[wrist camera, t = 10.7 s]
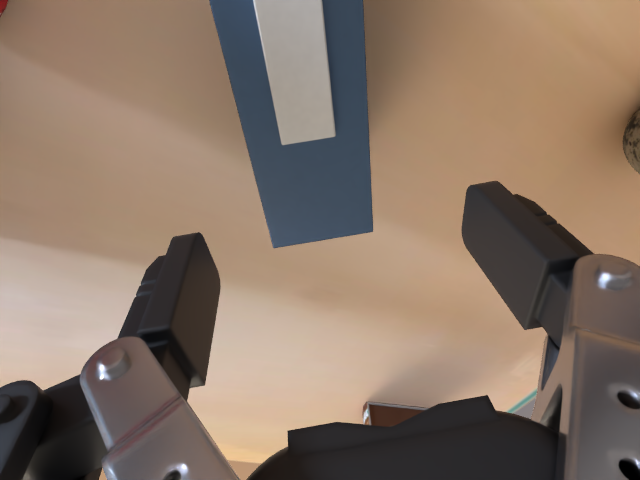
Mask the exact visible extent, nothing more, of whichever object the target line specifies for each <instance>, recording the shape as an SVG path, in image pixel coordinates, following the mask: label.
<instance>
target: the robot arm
mask: <svg viewBox="0 0 640 480" xmlns="http://www.w3.org/2000/svg"><path fill="white" fill-rule="evenodd" d="M462 237H463V241H464V244H465V246H466V248H467V249H468V251H469V252H470V254H471V255H472V256H473V258H474V259H475V261H476V262H477V263H478V265H479V266H480V268H481V269H482V271H483V272H484V273H485V275H486V276H487V278H488V279H489V280H490V282H491V283H492V285H493V286H494V287H495V289H496V290H497V292H498V293H499V295H500V296H501V297H502V299H503V300H504V302H505V303H506V304H507V306H508V307H509V309H510V310H511V311H512V313H513V314H514V316H515V317H516V319H517V320H518V321H519V323H520V324H521V326H522V327H523V328H524V330H527V329H533V328H538V327H543V328H544V329H545V331H546V332H547V335H546V338H545V341H544V347H543V354H542V361H541V368H540V375H539V382H538V388H537V395H536V401H535V406H534V409H533V413H532V416H531V419H529V418H525V417H522V416H519V415H516V414H512V413H507V412H502V411H495V409H494V407H493V405H492V403H491V401H490V399H489V397H488V395H486V396H480V397H475V398H469V399H464V400H458V401H452V402H447V403H441V404H437V405H435V406H433V407H431V408H429V409H427V410H425V411H423V412H421V413H419V414H417V415H415V416H413V417H411V418H409V419H407V420H405V421H403V422H401V423H399V424H397V425H394V426H390V427H385V426H374V425H363V424H352V423H341V422H335V423H329V424H323V425H318V426H312V427H306V428H301V429H295V430H290V431H288V447H286V448H284V449H282V450H280V451H279V452H277V453H276V454H274V455H272V456H271V457H269V458H268V459H267V460H266V461H265V462H263V463H262V464H261V465H260V466H259V467H258V468H257V469H256V470H255V471H254V472H253V473H252V474H251V475H250V476H249V477H248V478H247V480H640V266H638V265H637V264H635V263H633V262H631V261H628V260H626V259H623V258H620V257H616V256H612V255H606V254H594V253H593V252H591V251H590V250H589V249H588V248H587V247H586V246H585V245H583V244H582V243H581V242H580V241H579V240H578V239H576V238H575V237H574V236H573V235H572V234H571V233H570V232H568V231H567V230H566V229H565V228H564V227H563V226H562V225H560V224H557V221H556V220H555V219H554V218H552V217H551V216H550V215H547V212H546V211H544V210H543V209H542V208H541V207H540V206H539V205H537V204H536V203H535V202H534V201H531V200H529V199H527V198H525V197H522V196H520V195H518V194H515V195H513V194H512V193H511V192H510V191H508V190H507V189H506V188H505V187H504V186H503V185H502V184H501V183H500V182H498V181H492V182H486V183H480V184H475V185H470V186H469V187H468V189H467V192H466V199H465V206H464V214H463V222H462ZM219 295H220V278H219V273H218V270H217V268H216V265H215V263H214V261H213V258H212V256H211V254H210V251H209V249H208V247H207V244H206V242H205V239H204V237H203V236H202V234H201V233H199V232H198V233H192V234H186V235H181V236H175V237H173V238H172V240H171V242H170V245H169V248H168V250H167V253H166V255H164V256H159V257H158V258H157V259H156V260H155V261H154V262H153V263H152V264H151V265H150V266H149V267H148V268H147V270H146V272H145V274H144V277H143V279H142V281H141V286H139V289H138V291H137V293H136V297H135V298H134V300H133V303H132V305H131V308H130V310H129V312H128V315H127V317H126V319H125V322H124V324H123V327H122V329H121V331H120V334H119V336H118V338H117V339H116V340H114V341H112V342H109V343H108V344H106V345H104V346H103V347H101V348H100V349H99V350H98V351H96V352H95V353H94V354H93V355H92V356H91V357H90V358H89V360H88V361H87V362H86V364H85V365H84V367H83V369H82V371H81V374H80V375H78V376H75V377H73V378H71V379H69V380H66V381H64V382H62V383H59V384H57V385H55V386H53V387H50V388H48V389H46V390H44V391H43V390H42V389H40V388H39V387H38V386H37V385H36V384H35V383H33V382H31V381H27V380H22V381H16V382H13V383H10V384H7V385H5V386H3V387H1V388H0V480H99V477H100V474H101V470H102V467H103V470H104V473H105V475H106V478H107V480H240V478H239V477H238V475H237V474H236V472H235V471H234V470H233V468H232V467H231V465H230V464H229V462H228V461H227V459H226V458H225V456H224V455H223V454H222V452H221V451H220V449H219V448H218V446H217V445H216V443H215V442H214V440H213V439H212V437H211V436H210V435H209V433H208V432H207V430H206V429H205V427H204V426H203V424H202V423H201V421H200V420H199V418H198V417H197V415H196V414H195V413H194V411H193V410H192V408H191V407H190V405H189V404H188V402H187V399H188V394H189V389H190V388H193V387H198V386H204V385H205V381H206V375H207V369H208V363H209V357H210V351H211V344H212V338H213V332H214V326H215V320H216V313H217V307H218V301H219Z"/></svg>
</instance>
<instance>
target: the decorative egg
mask: <svg viewBox="0 0 640 480" xmlns="http://www.w3.org/2000/svg"><path fill="white" fill-rule="evenodd" d="M623 149H624V153H625V156H626V158H627V160H628V162H629V163H630V165H631V166H632V167H633V168H634V169H635V170H636V171H637V172H638V173H639V174H640V109H639V110H638V111H637V112H636V113H635V114H634V116H633V117H632V118H631V119H630V121H629V123H628V124H627V127H626V129H625V132H624V136H623Z"/></svg>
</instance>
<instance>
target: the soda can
mask: <svg viewBox="0 0 640 480" xmlns="http://www.w3.org/2000/svg"><path fill="white" fill-rule="evenodd" d="M7 2H8V0H0V17H1V15H2V13H3V12H4V10H5V8H6V5H7Z"/></svg>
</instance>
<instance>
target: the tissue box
mask: <svg viewBox="0 0 640 480" xmlns="http://www.w3.org/2000/svg"><path fill="white" fill-rule="evenodd" d="M209 1H210V5H211V9H212V13H213V17H214V21H215V25H216V28H217V32H218V36H219V40H220V44H221V48H222V52H223V55H224V59H225V63H226V67H227V71H228V75H229V79H230V83H231V86H232V90H233V94H234V98H235V102H236V106H237V110H238V113H239V117H240V121H241V125H242V129H243V133H244V137H245V140H246V144H247V148H248V152H249V156H250V160H251V164H252V167H253V171H254V175H255V179H256V183H257V187H258V191H259V194H260V198H261V202H262V206H263V210H264V214H265V218H266V222H267V225H268V229H269V233H270V237H271V241H272V245H273V248H278V247H284V246H290V245H296V244H302V243H308V242H314V241H320V240H326V239H332V238H338V237H344V236H350V235H356V234H363V233H369V232H373V215H372V192H371V170H370V147H369V124H368V101H367V78H366V55H365V32H364V9H363V0H209Z"/></svg>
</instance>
